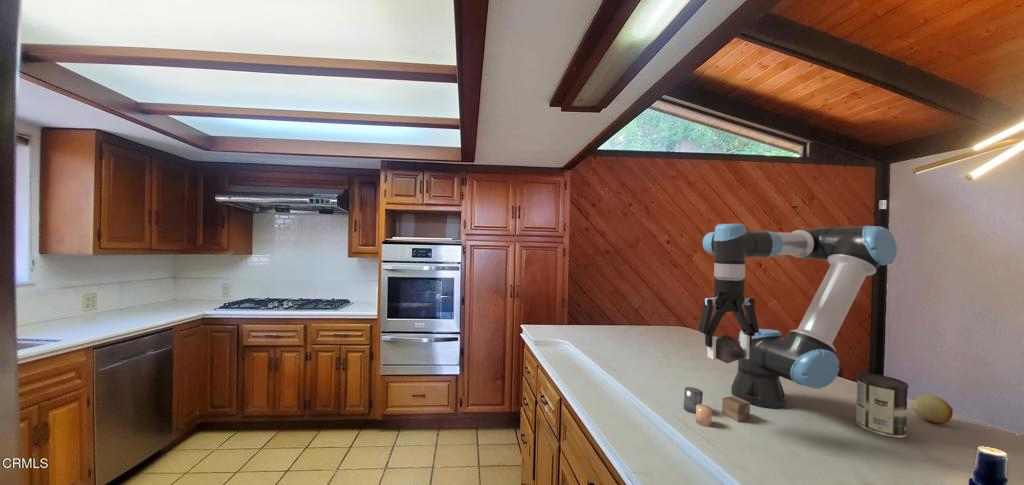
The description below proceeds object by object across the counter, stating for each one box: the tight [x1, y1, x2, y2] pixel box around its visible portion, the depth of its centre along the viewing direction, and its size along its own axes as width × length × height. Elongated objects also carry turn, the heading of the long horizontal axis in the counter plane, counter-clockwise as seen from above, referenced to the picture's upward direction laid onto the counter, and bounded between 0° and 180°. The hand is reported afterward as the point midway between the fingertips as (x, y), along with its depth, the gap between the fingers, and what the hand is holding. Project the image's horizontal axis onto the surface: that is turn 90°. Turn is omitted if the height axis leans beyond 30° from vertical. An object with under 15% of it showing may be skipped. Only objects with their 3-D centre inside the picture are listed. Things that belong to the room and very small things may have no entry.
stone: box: [709, 334, 745, 364], centre depth 103 cm, size 10×8×10 cm
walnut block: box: [721, 395, 751, 423], centre depth 108 cm, size 5×5×5 cm
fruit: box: [911, 393, 954, 425], centre depth 108 cm, size 8×8×8 cm
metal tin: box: [683, 386, 704, 415], centre depth 112 cm, size 5×5×6 cm
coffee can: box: [855, 372, 909, 439], centre depth 103 cm, size 10×10×14 cm
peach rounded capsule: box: [695, 403, 713, 428], centre depth 104 cm, size 4×4×4 cm
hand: (728, 357), depth 103 cm, fingers closed on stone, 9 cm apart
